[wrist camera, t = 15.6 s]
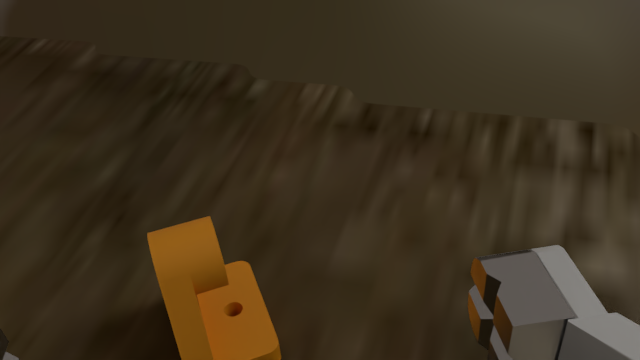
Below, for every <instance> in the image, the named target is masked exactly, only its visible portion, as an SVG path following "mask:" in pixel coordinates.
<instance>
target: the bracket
mask: <svg viewBox="0 0 640 360" xmlns="http://www.w3.org/2000/svg"><path fill="white" fill-rule="evenodd" d="M147 236H148V242H149V247H150V251H151V256H152V260H153V264H154V267H155V271H156V275H157V278H158V282H159V285H160V289H161V292H162V295H163V299H164V302H165V305H166V309H167V312H168V316H169V319H170V322H171V326H172V329H173V333H174V336H175V339H176V343H177V346H178V349H179V353H180V356H181V360H281V353H280V347H279V341H278V338H277V335H276V332H275V330H274V327H273V325H272V322H271V319H270V317H269V314H268V311H267V309H266V306H265V303H264V301H263V298H262V296H261V293H260V290H259V288H258V285H257V282H256V280H255V277H254V274H253V272H252V269H251V267H250V264H249V263H247V262H245V261H236V262H233V263H230V264H226V265H224V262H223V258H222V254H221V250H220V247H219V243H218V240H217V236H216V233H215V230H214V227H213V224H212V221H211V218H210V216H208V217H204V218H200V219H197V220H193V221H190V222H186V223H182V224H179V225H175V226H171V227H168V228H164V229H161V230H157V231H153V232H150V233H147Z"/></svg>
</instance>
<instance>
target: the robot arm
mask: <svg viewBox="0 0 640 360" xmlns="http://www.w3.org/2000/svg"><path fill="white" fill-rule="evenodd" d="M471 276H472V278H473V280H474V282H475V285H474V286H473V288H472V289H471V290H470V291H469V296H468V309H469V317H470V322H471V326H472V329H473V332H474V335H475V337H476V340H477V342H478V344H480V345H481V346H483V347H484V348H486V349H487V350H488V358H487V360H640V325H638V324H636V323H634V322H633V321H631V320H629V319H627V318H626V317H624V316H622V315H620V314H618V313H607V311H606V310H605V308H604V307H603V305H602V304H601V302H600V301H599V299H598V298H597V296H596V295H595V294H594V292H593V291H592V289H591V288H590V286H589V285H588V283H587V282H586V280H585V279H584V277H583V276H582V274H581V273H580V272H579V270H578V269H577V267H576V266H575V264H574V263H573V261H572V260H571V258H570V257H569V255H568V254H567V252H566V251H565V250H564V248H562V247H561V246H559V245H555V246H548V247H542V248H535V249H530V250H522V251H515V252H509V253H502V254H496V255H490V256H483V257H477V258H474V260H473V262H472V267H471ZM8 343H9V341H8V339H7V338H6V336H5V335H4V333H3V332H2V330H1V329H0V360H20V359H19V358H17V357H15V356H13V355H11V354H9V353H7V352H6V349H7V346H8Z"/></svg>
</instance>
